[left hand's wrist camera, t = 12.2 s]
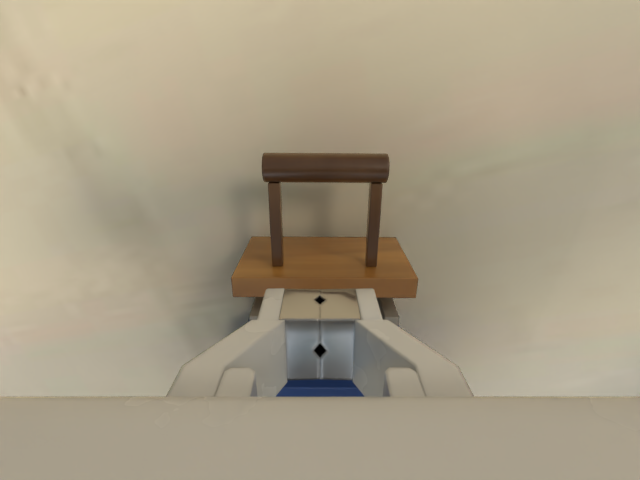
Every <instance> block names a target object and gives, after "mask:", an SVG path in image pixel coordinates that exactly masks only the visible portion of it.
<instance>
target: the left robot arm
mask: <svg viewBox="0 0 640 480" xmlns="http://www.w3.org/2000/svg"><path fill="white" fill-rule="evenodd" d="M318 379H321V380H353V383H354V384H355V385H356V387H357V388H358V389H359V390H360V391H361V393H362V394H363V395H364V396H365V397H276V395H277V394H278V393H279V392H280V391H281V389H282V388H283V387H284V386H285V384H286V383H287V380H318ZM0 480H640V397H474V396H473V394H472V392H471V390H470V388H469V386H468V384H467V382H466V380H465V378H464V376H463V374H462V372H461V370H460V368H459V367H458V366H457V365H455V364H454V363H452V362H451V361H449V360H448V359H446V358H445V357H443V356H442V355H440V354H439V353H437V352H436V351H434V350H433V349H431V348H430V347H428V346H427V345H425V344H424V343H422V342H421V341H419V340H418V339H416V338H415V337H413V336H412V335H410V334H409V333H407V332H406V331H404V330H403V329H401V328H400V327H398V326H397V325H395V324H394V323H392V322H390V321H389V320H383V318H382V315H381V312H380V308H379V305H378V301H377V298H376V294H375V291H374V289H373V288H362V289H355V288H353V289H284V288H268V289H266V291H265V294H264V298H263V301H262V304H261V308H260V311H259V315H258V318H257V320H251V321H250V322H248V323H246V324H245V325H243V326H242V327H240V328H239V329H237V330H236V331H234V332H233V333H231V334H230V335H228V336H227V337H225V338H224V339H222V340H221V341H219V342H218V343H216V344H215V345H213V346H212V347H210V348H209V349H207V350H206V351H204V352H202V353H201V354H199V355H198V356H196V357H195V358H193V359H192V360H190V361H189V362H187V363H186V364H184V365H183V366H182V367H181V369H180V371H179V373H178V375H177V376H176V378H175V380H174V382H173V384H172V386H171V388H170V390H169V392H168V394H167V396H166V397H0Z"/></svg>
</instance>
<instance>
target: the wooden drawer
mask: <svg viewBox="0 0 640 480" xmlns="http://www.w3.org/2000/svg"><path fill="white" fill-rule="evenodd" d="M262 176H263V180H264V182H269V183H268V194H269V214H270V234H271V237H251V239H250V241H249V243H248V245H247V247H246V249H245V251H244V253H243V255H242V257H241V259H240V261H239V263H238V265H237V267H236V269H235V271H234V273H233V275H232V277H231V281H232V292H233V297H255V300H254V304H253V307H252V310H251V313H250V316H249V321H251V320H257V318H258V315H259V311H260V308H261V304H262V301H263V298H264V294H265V291H266V289H268V288H284V289H353V288H355V289H362V288H373V289H374V291H375V294H376V298H377V301H378V305H379V308H380V312H381V315H382V318H383V320H389V321H390V322H392V323H394V324H395V325H397V326H398V323H399V316H398V313H397V310H396V308H395V305H394V302H393V299H392V298H416V292H417V284H418V278H417V276H416V274H415V272H414V270H413V268H412V266H411V265H410V263H409V261H408V259H407V257H406V255H405V254H404V252H403V250H402V248H401V246H400V244H399V243H398V241H397V239H396V238H395V237H379V227H380V213H381V199H382V183H386V182H387V180H388V176H389V157H388V154H360V153H264V154H263V157H262ZM281 182H335V183H369V201H368V218H367V235H366V237H283V228H282V200H281Z"/></svg>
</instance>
